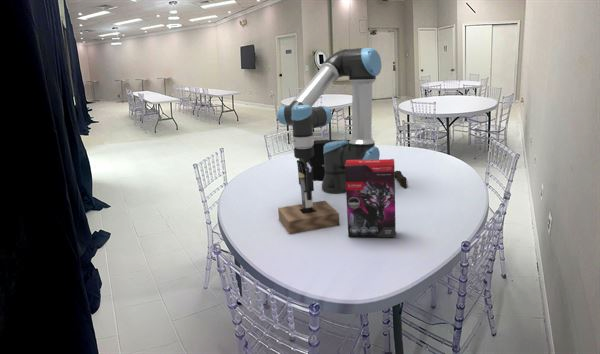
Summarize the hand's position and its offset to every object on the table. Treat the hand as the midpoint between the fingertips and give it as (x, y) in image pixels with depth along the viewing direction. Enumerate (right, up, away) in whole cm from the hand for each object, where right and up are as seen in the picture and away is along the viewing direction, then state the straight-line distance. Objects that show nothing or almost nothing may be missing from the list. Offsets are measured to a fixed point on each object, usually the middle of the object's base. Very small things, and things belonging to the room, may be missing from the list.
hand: (307, 205), depth 172 cm
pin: (0, -4, +1) cm, 5 cm away
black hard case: (+17, +10, +59) cm, 62 cm away
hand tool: (+47, +8, +44) cm, 65 cm away
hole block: (0, -7, +2) cm, 7 cm away
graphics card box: (+23, -10, -13) cm, 28 cm away
